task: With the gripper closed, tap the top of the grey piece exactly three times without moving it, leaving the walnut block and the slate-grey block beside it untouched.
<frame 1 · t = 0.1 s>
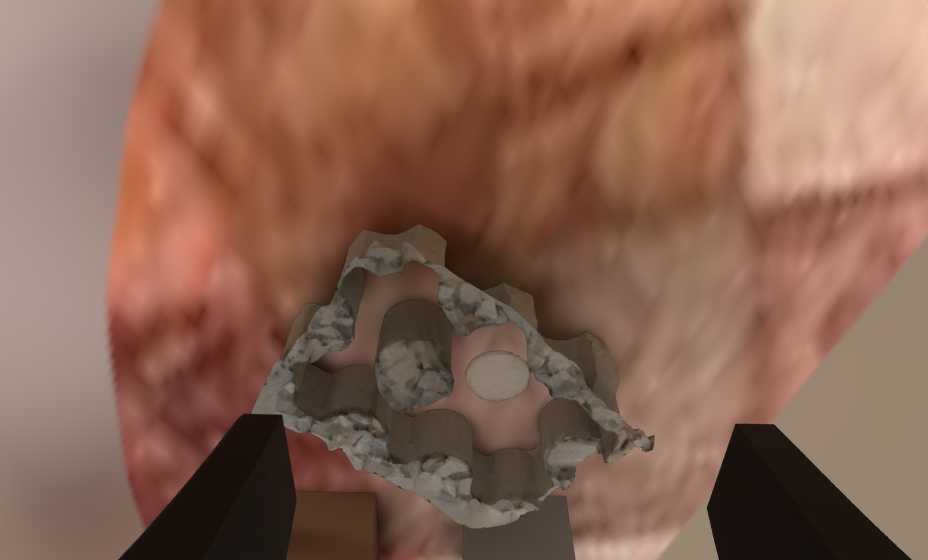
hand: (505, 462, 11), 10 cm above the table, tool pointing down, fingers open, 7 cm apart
slate-grey block: (511, 525, 28), on the table
grey piece: (455, 348, 23), on the table
walnut block: (329, 522, 27), on the table
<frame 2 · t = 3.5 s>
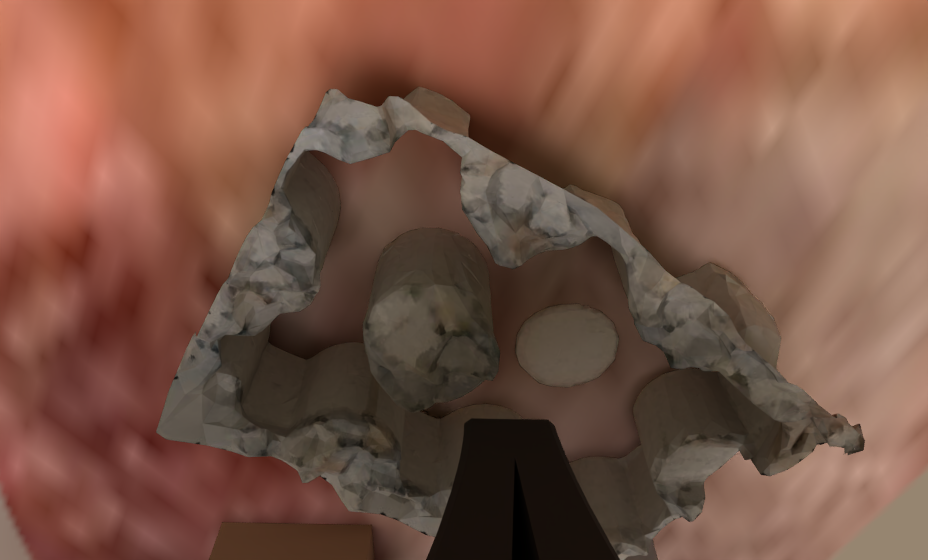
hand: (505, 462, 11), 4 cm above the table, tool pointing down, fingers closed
grey piece: (496, 307, 15), on the table
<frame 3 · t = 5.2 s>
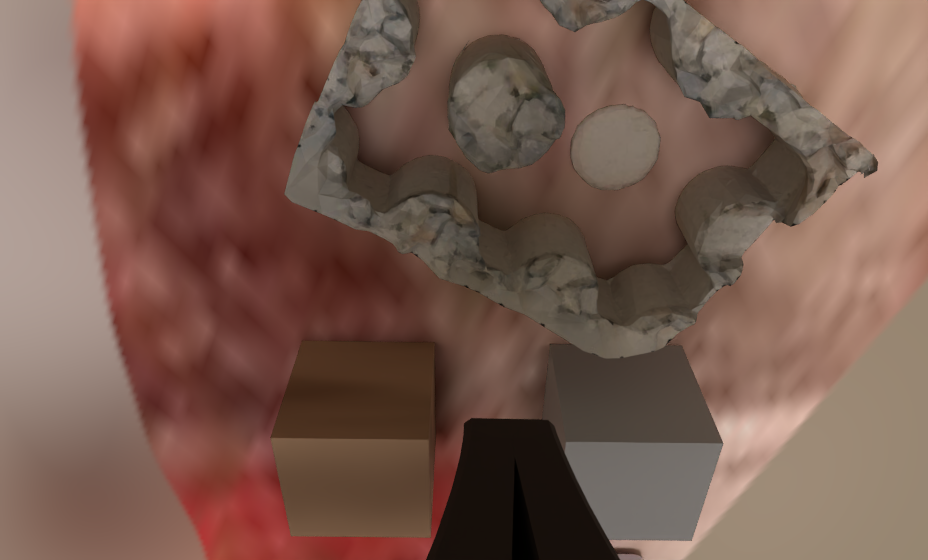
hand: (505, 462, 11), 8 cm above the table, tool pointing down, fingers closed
slate-grey block: (606, 391, 21), on the table
grey piece: (552, 117, 17), on the table
walnut block: (372, 388, 21), on the table
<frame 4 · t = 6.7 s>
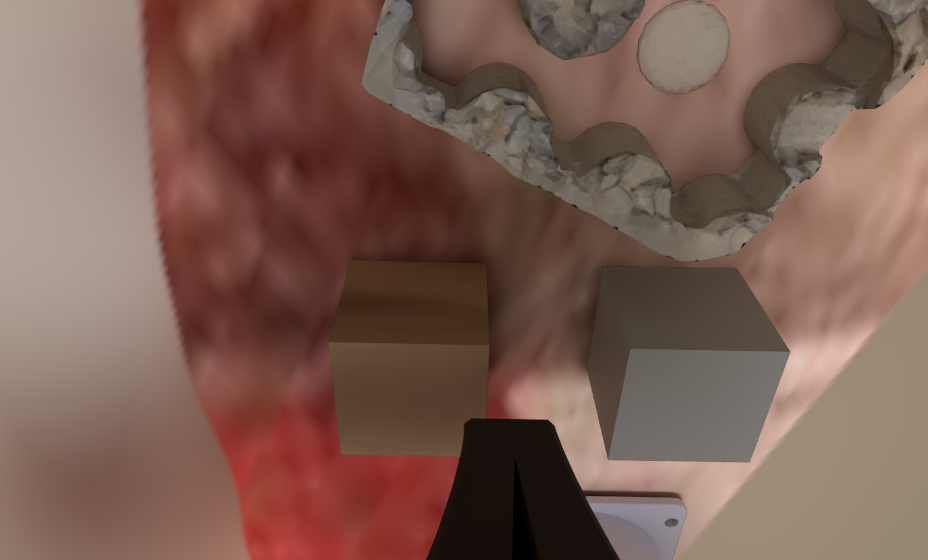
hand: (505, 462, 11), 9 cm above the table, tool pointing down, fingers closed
slate-grey block: (657, 319, 21), on the table
grey piece: (618, 19, 17), on the table
walnut block: (419, 314, 21), on the table
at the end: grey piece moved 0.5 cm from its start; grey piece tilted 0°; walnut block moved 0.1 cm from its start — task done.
